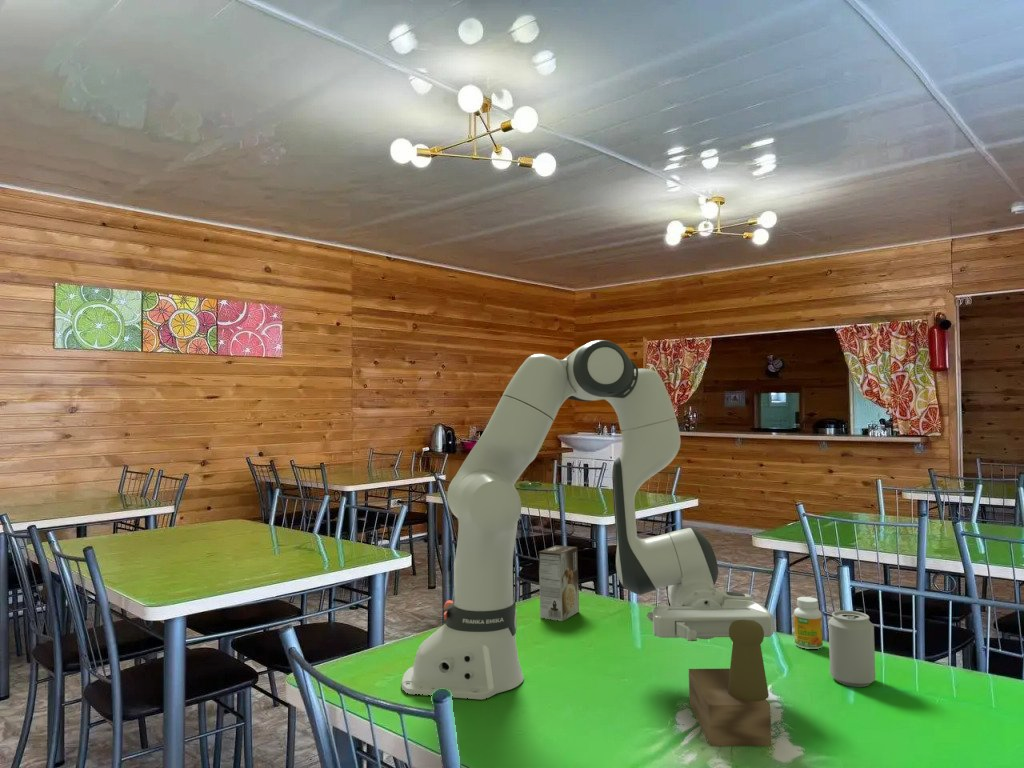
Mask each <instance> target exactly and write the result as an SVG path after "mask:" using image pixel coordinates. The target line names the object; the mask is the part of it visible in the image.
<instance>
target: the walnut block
mask: <svg viewBox="0 0 1024 768" xmlns="http://www.w3.org/2000/svg"><path fill="white" fill-rule="evenodd" d="M729 674H730V668H688V689H689V690H688V694H689V695H688V697H689V706H690V709H691V710H692V713H693V714H694V717H695V718H696V720H697V722H698V724H699V727H700V729H701V730H702V733H703V734H704V737H705V738H706V741H707V743H708V744H709V747H715V746H716V747H764V746H765V747H771V746H772V721H771V720H772V719H771V718H772V716H771V715H772V713H771V704H770V703H769V701H768V700H767V699H765V700H761V701H745V700H740V699H736V698H734V697H732V696H731V695H729V694H728V684H729Z"/></svg>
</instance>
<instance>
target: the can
mask: <svg viewBox="0 0 1024 768" xmlns="http://www.w3.org/2000/svg"><path fill="white" fill-rule="evenodd" d="M831 616H832V617H830V618H829V620H828V625H827V626H828V648H829V649H828V651H829V674H830V676H832V677H833V678H834V680H835V681H836V682H838V683H840V684H841V683H842V684H841V685H845V686H849V687H856V688H861V687H867V686H870V685H871V684H872V683H873V682H875V680H876V657H875V655H876V654H875V650H876V649H875V626H874V624H873V623H872V622H871V621H870V618H871V617H870V616H869V615H868V614H866V613H864V612H860V611H856V610H835V611H833V612H832V613H831Z"/></svg>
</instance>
